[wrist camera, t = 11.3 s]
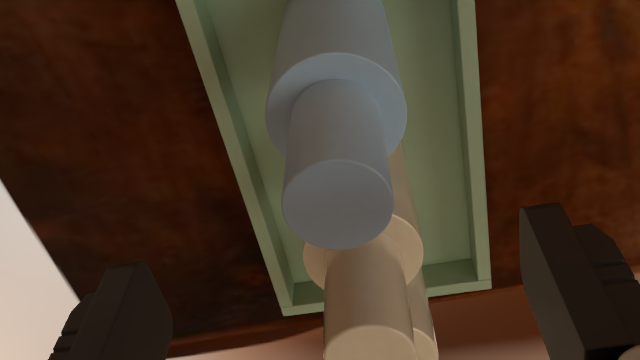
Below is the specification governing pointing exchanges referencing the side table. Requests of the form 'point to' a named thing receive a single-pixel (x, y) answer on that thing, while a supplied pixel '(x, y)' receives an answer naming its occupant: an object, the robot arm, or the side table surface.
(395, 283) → the cream bottle
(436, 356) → the cream bottle
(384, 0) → the tray
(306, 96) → the blue bottle
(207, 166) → the side table surface
